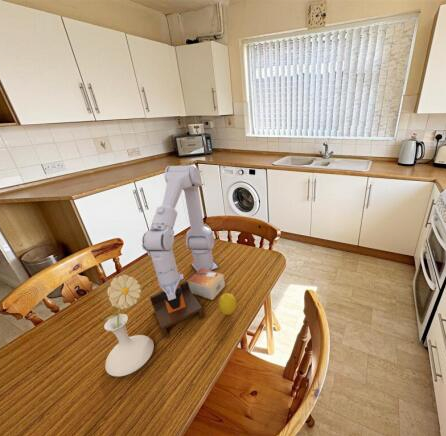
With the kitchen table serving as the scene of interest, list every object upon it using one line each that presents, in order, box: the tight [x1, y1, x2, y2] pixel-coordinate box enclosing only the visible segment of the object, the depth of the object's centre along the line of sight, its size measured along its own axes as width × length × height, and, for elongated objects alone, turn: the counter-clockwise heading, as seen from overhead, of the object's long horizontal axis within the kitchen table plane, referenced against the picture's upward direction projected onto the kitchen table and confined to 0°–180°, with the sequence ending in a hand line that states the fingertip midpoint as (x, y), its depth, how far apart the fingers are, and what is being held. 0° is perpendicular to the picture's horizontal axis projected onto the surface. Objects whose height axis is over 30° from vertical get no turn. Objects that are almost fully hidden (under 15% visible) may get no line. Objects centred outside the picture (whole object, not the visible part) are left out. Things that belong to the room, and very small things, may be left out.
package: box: [162, 286, 185, 313], centre depth 75 cm, size 5×4×6 cm
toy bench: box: [149, 280, 205, 338], centre depth 76 cm, size 12×12×7 cm
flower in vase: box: [102, 274, 155, 377], centre depth 60 cm, size 13×11×25 cm
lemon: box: [218, 292, 238, 316], centre depth 76 cm, size 6×6×8 cm
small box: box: [186, 269, 226, 301], centre depth 87 cm, size 8×6×10 cm
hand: (175, 302), depth 75 cm, fingers closed on package, 4 cm apart
